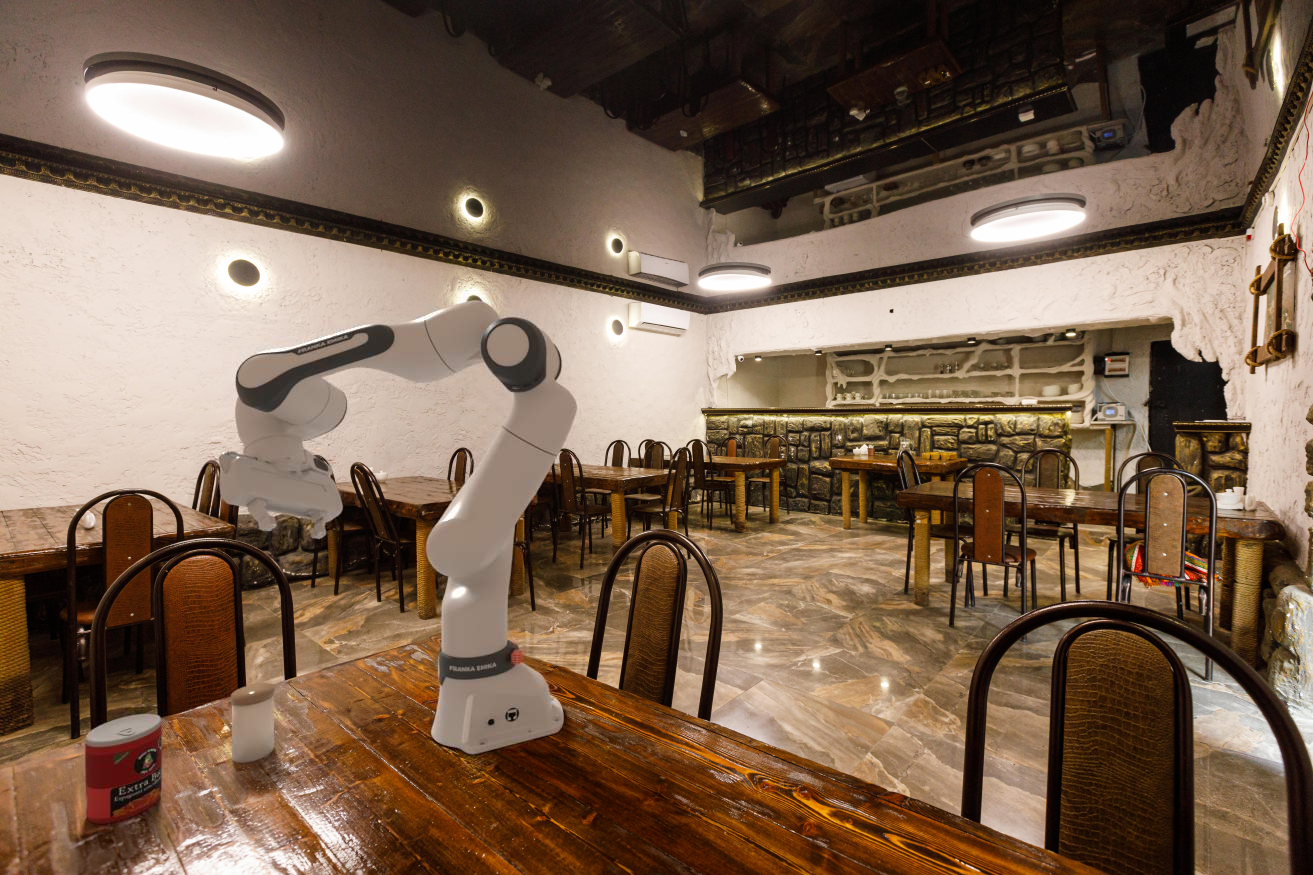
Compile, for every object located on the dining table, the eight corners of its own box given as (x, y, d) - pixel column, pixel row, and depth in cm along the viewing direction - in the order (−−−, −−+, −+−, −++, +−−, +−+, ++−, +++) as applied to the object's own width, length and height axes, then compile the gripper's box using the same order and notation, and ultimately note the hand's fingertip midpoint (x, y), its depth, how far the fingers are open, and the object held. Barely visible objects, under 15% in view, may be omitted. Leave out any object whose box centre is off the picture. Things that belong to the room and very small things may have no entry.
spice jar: (279, 740, 95) (279, 681, 95) (268, 759, 90) (267, 696, 90) (239, 746, 94) (239, 685, 93) (224, 765, 88) (224, 701, 88)
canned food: (116, 829, 74) (116, 744, 74) (68, 820, 75) (68, 738, 75) (176, 792, 81) (176, 716, 81) (132, 785, 83) (132, 710, 83)
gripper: (232, 437, 89) (249, 511, 83) (338, 468, 107) (357, 530, 102) (202, 459, 89) (216, 534, 84) (312, 486, 108) (330, 549, 102)
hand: (295, 532), depth 93 cm, fingers open, 8 cm apart
